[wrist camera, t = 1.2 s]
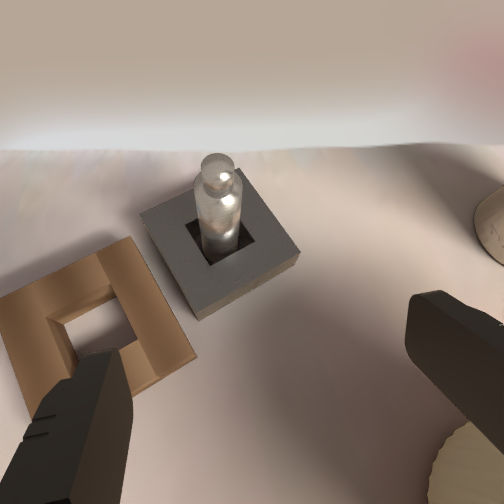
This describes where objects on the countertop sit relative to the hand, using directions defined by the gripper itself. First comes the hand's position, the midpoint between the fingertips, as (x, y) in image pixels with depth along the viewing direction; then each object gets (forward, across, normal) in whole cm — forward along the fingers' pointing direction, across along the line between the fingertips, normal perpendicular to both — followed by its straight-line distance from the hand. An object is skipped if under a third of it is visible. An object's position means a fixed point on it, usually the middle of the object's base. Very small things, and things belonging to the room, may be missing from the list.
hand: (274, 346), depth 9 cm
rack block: (+18, +10, +10) cm, 22 cm away
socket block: (+22, 0, +5) cm, 22 cm away
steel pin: (+22, 0, +5) cm, 22 cm away
